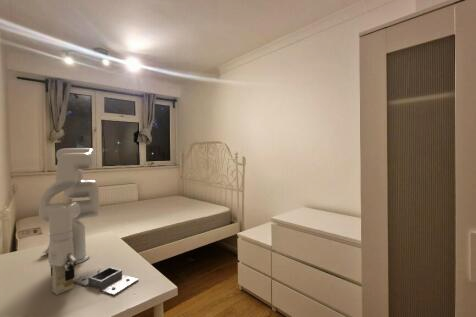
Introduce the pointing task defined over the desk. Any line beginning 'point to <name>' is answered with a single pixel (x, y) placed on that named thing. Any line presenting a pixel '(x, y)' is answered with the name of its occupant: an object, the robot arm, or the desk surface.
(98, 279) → the hinge base
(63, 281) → the skincare box
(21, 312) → the desk surface
